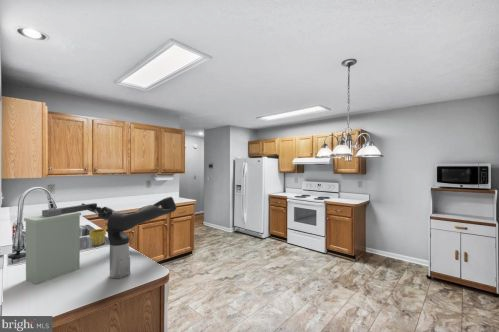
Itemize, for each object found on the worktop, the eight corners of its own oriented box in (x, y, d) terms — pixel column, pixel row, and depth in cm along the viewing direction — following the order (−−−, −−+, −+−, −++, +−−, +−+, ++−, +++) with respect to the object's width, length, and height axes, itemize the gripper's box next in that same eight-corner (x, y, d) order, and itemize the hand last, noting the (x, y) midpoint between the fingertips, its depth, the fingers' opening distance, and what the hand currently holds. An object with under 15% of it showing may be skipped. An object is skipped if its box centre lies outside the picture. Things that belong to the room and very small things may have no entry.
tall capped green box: (69, 264, 140) (69, 210, 139) (81, 268, 135) (81, 212, 135) (24, 280, 121) (23, 218, 120) (35, 285, 116) (35, 220, 116)
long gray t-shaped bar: (92, 207, 149) (92, 202, 149) (98, 208, 146) (98, 203, 146) (42, 215, 125) (42, 210, 125) (48, 217, 123) (48, 211, 123)
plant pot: (87, 246, 169) (87, 233, 169) (92, 242, 179) (92, 229, 179) (103, 245, 172) (103, 232, 172) (107, 241, 182) (107, 228, 182)
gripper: (112, 221, 150) (89, 212, 137) (98, 218, 157) (74, 210, 143) (118, 210, 154) (96, 200, 141) (104, 208, 160) (81, 198, 147)
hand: (85, 205), depth 142 cm, fingers open, 7 cm apart
